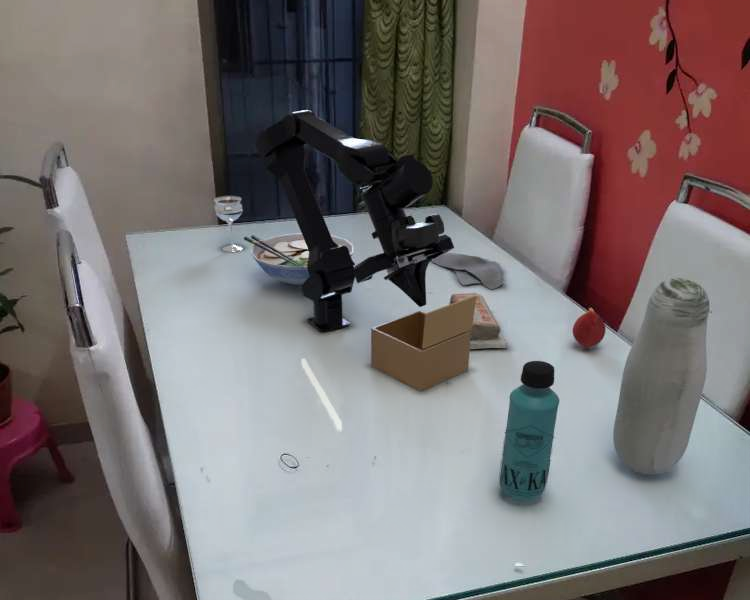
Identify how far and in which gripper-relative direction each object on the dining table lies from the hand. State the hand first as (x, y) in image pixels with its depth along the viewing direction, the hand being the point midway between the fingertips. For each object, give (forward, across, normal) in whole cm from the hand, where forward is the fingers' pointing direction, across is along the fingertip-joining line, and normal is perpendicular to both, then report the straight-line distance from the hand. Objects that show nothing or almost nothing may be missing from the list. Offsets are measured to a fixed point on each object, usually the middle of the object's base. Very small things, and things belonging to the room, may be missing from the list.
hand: (423, 305), depth 134 cm
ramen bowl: (-17, +11, +47) cm, 51 cm away
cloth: (-6, +44, +30) cm, 54 cm away
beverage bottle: (+31, -16, -23) cm, 42 cm away
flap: (+4, 0, -5) cm, 6 cm away
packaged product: (+7, +19, +11) cm, 23 cm away
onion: (+18, +29, -5) cm, 35 cm away
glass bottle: (+35, +2, -29) cm, 45 cm away
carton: (+10, 0, +7) cm, 12 cm away
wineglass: (-34, +11, +72) cm, 80 cm away
